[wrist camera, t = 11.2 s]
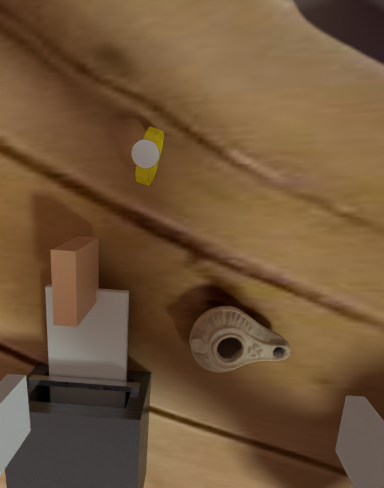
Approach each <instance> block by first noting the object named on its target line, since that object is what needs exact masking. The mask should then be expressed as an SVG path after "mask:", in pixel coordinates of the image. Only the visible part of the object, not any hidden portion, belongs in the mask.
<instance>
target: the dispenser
mask: <svg viewBox="0 0 384 488" xmlns="http://www.w3.org/2000/svg"><path fill="white" fill-rule="evenodd" d="M26 381H27V393H28V405H29V416H30V428H31V431H30V433H29V434H28V435H27V437H26V438H25V440H24V441H23V443H22V444H21V446H20V447H19V449H18V450H17V452H16V453H15V455H14V456H13V458H12V459H11V461H10V462H9V464H8V465H7V466H6V468H5V474H6V484H7V488H143V487H144V481H145V475H146V462H147V443H148V423H149V404H150V384H151V373H150V372H136V371H127V382H122V381H109V380H95V379H82V378H69V377H56V376H49V365H44V364H37V366H36V367H35V368H34V369H33V370H32V372H31V373H30V374H29V375H28V376H27V377H26ZM50 386H56V387H70V388H83V389H96V390H110V391H123V392H126V408H114V407H101V406H87V405H74V404H61V403H50Z"/></svg>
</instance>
